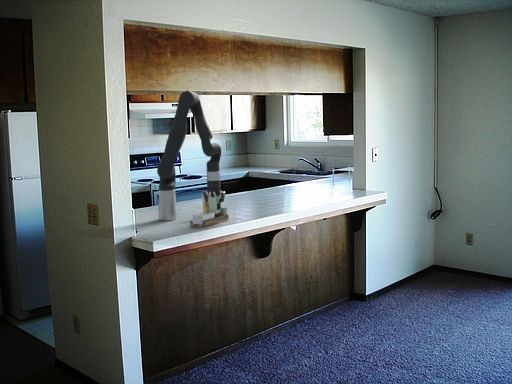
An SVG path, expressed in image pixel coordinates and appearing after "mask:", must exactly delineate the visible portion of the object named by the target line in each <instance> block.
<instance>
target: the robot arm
mask: <svg viewBox="0 0 512 384" xmlns="http://www.w3.org/2000/svg"><path fill="white" fill-rule="evenodd" d="M185 91H186V92H183V91H182V92H181V93H180V94H179V97H178V101H177V107H176V110H175V114H174V117H173V121H172V124H171V127H170V130H169V132H168V134H167V135H168V137H167V139H166V143H165V147H164V151H163V154H162V156H161V159H160V161H159V164H158V165H157V169H156V173H157V175H158V177H159V184H158V193H159V194H158V195H159V198H158V199H159V203H158V219H159V220H160V221H165V222H166V221H174V220H175V221H176V220H177V202H176V180H177V179H176V167H175V163H176V160H177V156H178V154H179V152H180V150H181V149H182V146H183V144H184V142H185V139H186V135H187V133H188V132H187V131H188V116H189V115H188V114H189V112H190V111H191V113H192V116H193V118H194V125H195V129H196V132H197V134H198V136H199V139H200V144H201V149H202V152H203V154H204V155H205V156H206V157H209V158H210V159H209V160H208V161H207V162H206V188H207V189H206V190H204V191H203V195H204V198H205V201H206V202H208V203H209V197H216V200H217V210H220V209H221V207H222V205H221V204H222V203H224V201H225V197H226V191H222V190H221V184H222V183H221V173H220V172H221V171H220V162H221V156H222V147H221V145H220V144H219V143H217V142H213V143H212V141H211V140H212V139H213V133H212V130H211V129H210V126H209V125H208V122H207V119H206V116H205V114H204V110H203V107H202V103H201V99H200V97H199V95H198V93H197V92H194V91H190V90H185ZM208 194H209V197H208ZM218 197H219V198H218ZM218 199H219V200H218Z"/></svg>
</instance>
